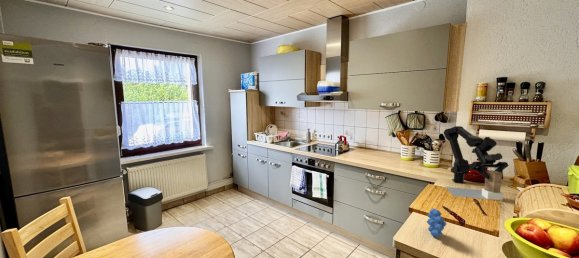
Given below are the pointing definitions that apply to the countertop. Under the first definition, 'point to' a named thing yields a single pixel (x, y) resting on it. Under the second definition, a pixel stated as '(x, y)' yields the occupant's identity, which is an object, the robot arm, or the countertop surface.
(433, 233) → the grapes
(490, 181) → the walnut pillar
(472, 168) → the robot arm
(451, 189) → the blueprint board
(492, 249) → the countertop surface
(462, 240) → the countertop surface
